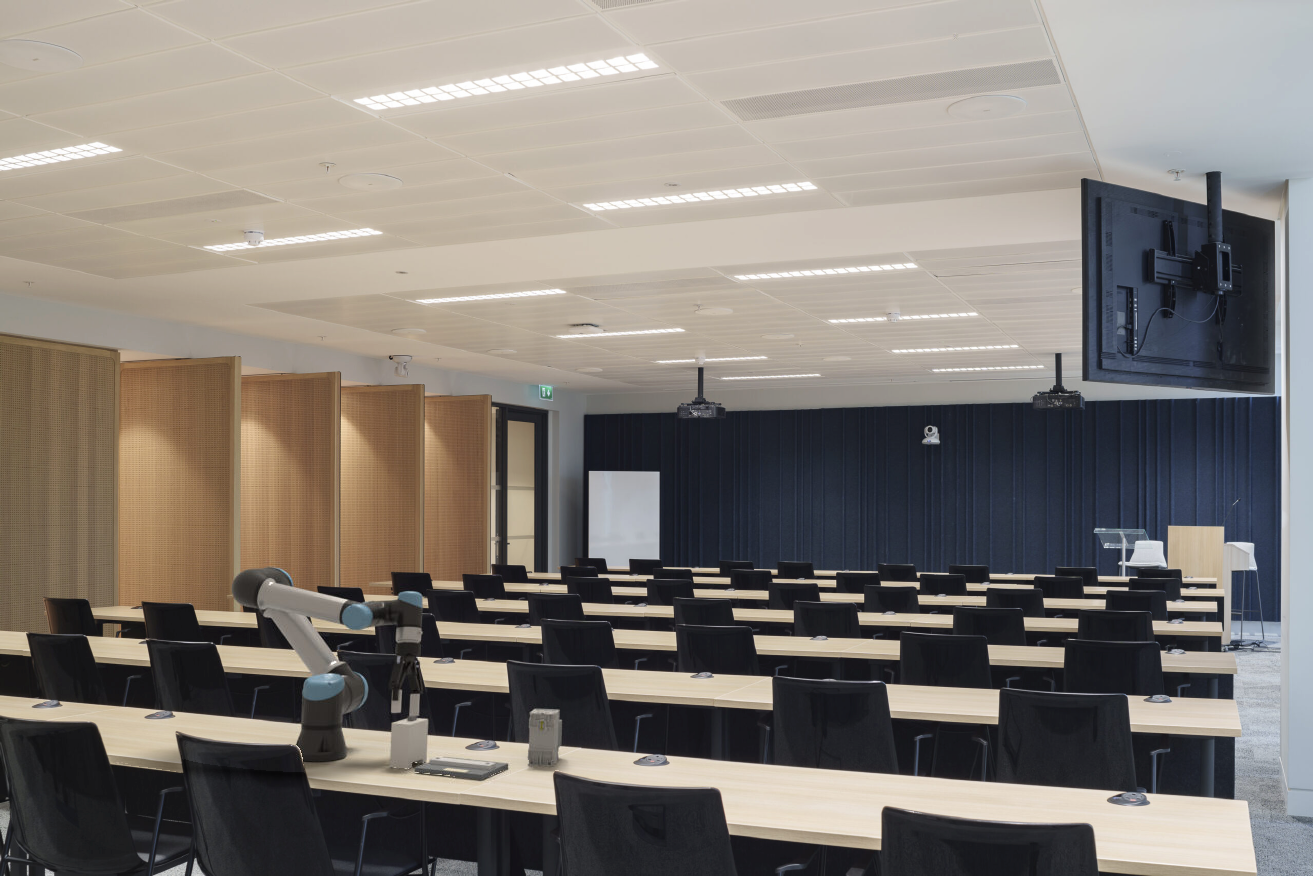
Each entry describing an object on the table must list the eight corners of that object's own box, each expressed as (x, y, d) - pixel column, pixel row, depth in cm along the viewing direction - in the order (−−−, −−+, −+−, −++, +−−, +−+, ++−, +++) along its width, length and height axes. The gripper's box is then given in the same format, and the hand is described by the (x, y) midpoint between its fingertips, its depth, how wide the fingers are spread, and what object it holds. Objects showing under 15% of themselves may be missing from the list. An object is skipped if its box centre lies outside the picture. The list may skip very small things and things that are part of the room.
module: (389, 767, 312) (391, 718, 313) (408, 760, 322) (410, 713, 323) (408, 769, 310) (410, 720, 311) (426, 762, 320) (428, 715, 321)
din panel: (414, 773, 306) (415, 762, 306) (443, 761, 321) (444, 751, 321) (481, 780, 299) (482, 769, 300) (508, 768, 314) (508, 758, 315)
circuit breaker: (561, 756, 333) (563, 706, 334) (552, 766, 319) (554, 714, 320) (537, 755, 334) (539, 705, 335) (527, 765, 320) (529, 713, 321)
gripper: (403, 636, 322) (400, 710, 315) (435, 647, 345) (432, 716, 338) (379, 638, 323) (375, 711, 316) (412, 648, 346) (409, 717, 339)
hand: (405, 714), depth 327 cm, fingers open, 13 cm apart
